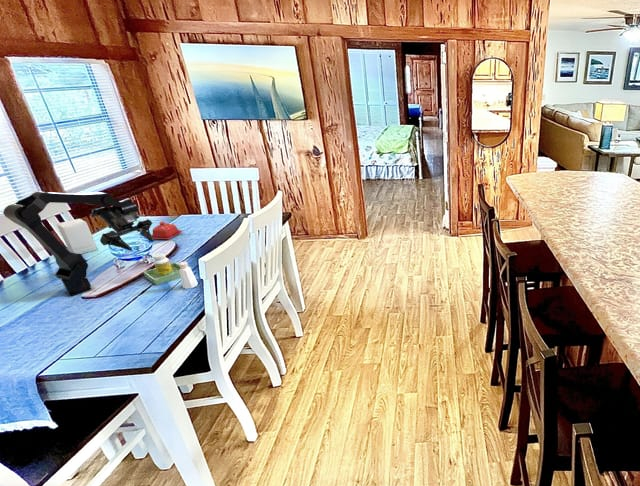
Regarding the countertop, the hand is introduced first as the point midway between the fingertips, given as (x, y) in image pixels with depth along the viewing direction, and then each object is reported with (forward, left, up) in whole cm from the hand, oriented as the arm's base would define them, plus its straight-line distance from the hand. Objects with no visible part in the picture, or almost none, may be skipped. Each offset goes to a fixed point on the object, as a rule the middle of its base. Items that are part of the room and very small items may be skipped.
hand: (142, 245), depth 168 cm
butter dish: (+21, +42, -14) cm, 49 cm away
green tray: (+3, -8, -14) cm, 16 cm away
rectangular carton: (-10, +54, -14) cm, 57 cm away
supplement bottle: (+3, -8, -13) cm, 15 cm away
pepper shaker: (+5, -26, -14) cm, 29 cm away
